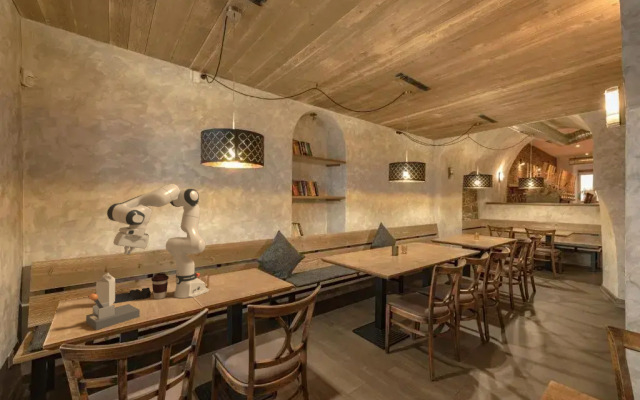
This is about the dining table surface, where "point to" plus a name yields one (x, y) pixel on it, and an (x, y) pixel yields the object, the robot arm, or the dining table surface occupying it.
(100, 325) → the switch box
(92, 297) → the toggle lever
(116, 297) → the dark slate chunk
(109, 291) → the milk carton
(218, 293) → the dining table surface
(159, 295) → the coffee cup
